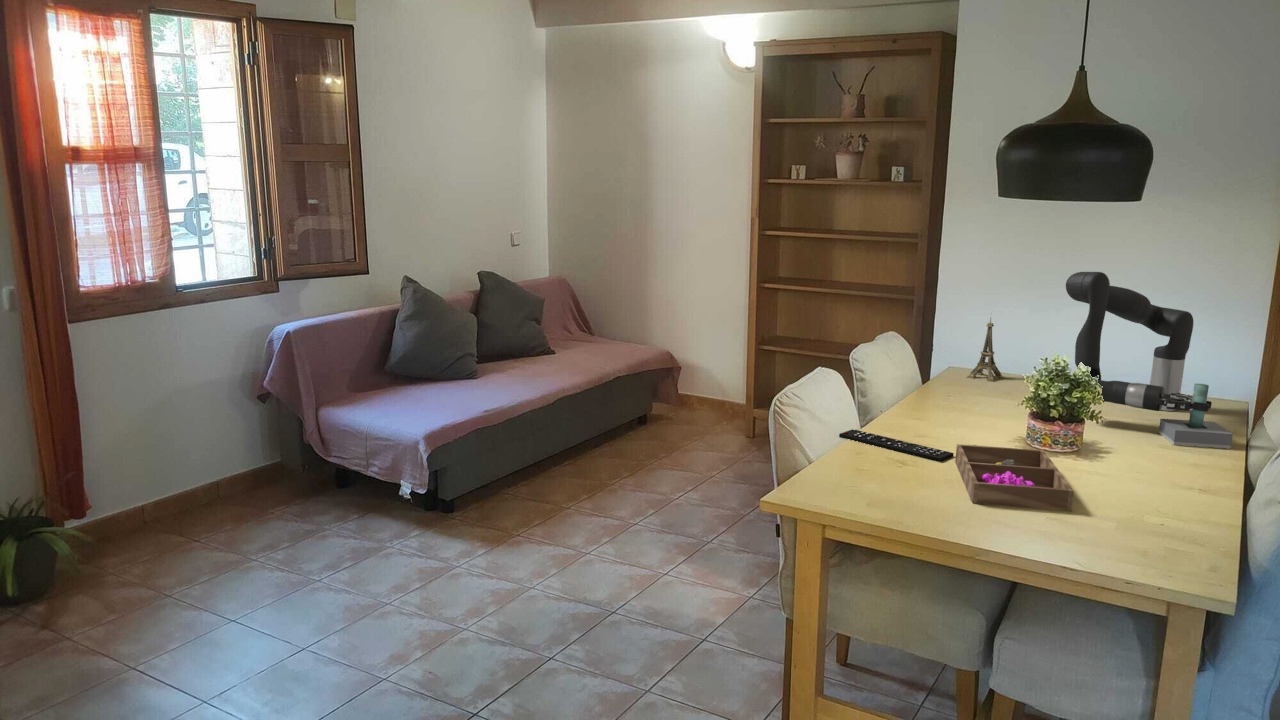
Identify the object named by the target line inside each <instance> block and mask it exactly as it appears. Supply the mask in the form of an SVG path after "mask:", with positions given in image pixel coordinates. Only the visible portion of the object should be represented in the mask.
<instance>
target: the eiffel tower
mask: <svg viewBox="0 0 1280 720" xmlns="http://www.w3.org/2000/svg"><path fill="white" fill-rule="evenodd" d="M990 313H991V314H992V312H990ZM994 326H995V325H994V323H992V318H990V320H989V322H987V324H986V327H987V330H986V335H985V340H984V343H983V348H982V350H981V351H980V354H981V355H980V357H979V361H978V362H976V364H977V365H976V366H975V367H974V368H973V369H972V370H971V371H970V373H969V375H966V378H967V379H976V378H977V375H978V376H982V375H984V370H985V371H987V376H988V377H987V379H986V381H987V382H991V383H994V382H996V381H997V379H1004V378H1005V376H1003V375H1002V372H1001V371H1000V369H998V366H997V365H996V364H997V363H996V361H995V359H994V358H995V357H994V355H995V351H994V348H993V327H994ZM986 360H987V361H986Z"/></svg>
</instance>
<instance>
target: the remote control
mask: <svg viewBox="0 0 1280 720" xmlns="http://www.w3.org/2000/svg"><path fill="white" fill-rule="evenodd" d="M838 435H839V436H838V437H839V438H841V439H843V440H844V439H845V440H848V439H850V440H849V441H852V440H854V441H853V442H856V441H858V442H857V443H860V442H861V443H862V444H864V443H865V445H868V444H869V445H868V446H872V445H874V446H873V447H876V446H877V448H880V447H881V449H884V448H885V450H889V451H892V450H893V451H894V452H897V453H900V454H905V455H908V456H912V457H917V458H922V459H924V460H925V459H926V460H929V461H933V462H937V463H942V462H944V461H946V460H949V459H951V458H952V457H954V452H951V451H948V450H947V451H945V450H942V449H939V448H938V449H937V448H934V447H929V446H926V445H921V444H916V443H912V442H908V441H904V440H900V439H896V438H891V437H887V436H883V435H879V434H874V433H871V432H867V431H862V430H858V429H855V428H853V429H849V430H847V431H843V432H841V433H839V434H838Z"/></svg>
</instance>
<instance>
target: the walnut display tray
mask: <svg viewBox="0 0 1280 720" xmlns="http://www.w3.org/2000/svg"><path fill="white" fill-rule="evenodd" d="M1008 459H1009V460H1014V461H1013V462H1011V463H1014V464H1012V465H1001V464H996V463H999V462H1000V463H1002V462H1003V461H1006V460H1008ZM1009 460H1008V461H1009ZM1008 461H1007V462H1008ZM954 462H955V465H956V467H957V469H958V472H959V474H960V477H961V480H962V482H963V485H964V487H965V489H966V491H967V494H968V497H969V499H970V501H971V503H972V504H977V505H989V506H1002V507H1015V508H1027V509H1037V510H1038V509H1041V510H1050V511H1052V510H1053V511H1064V512H1072V511H1073V508H1072V507H1073V499H1074V493H1075V491H1074V489H1073V488H1072V487H1071V485H1070V484H1069V483H1068V480H1066V479H1065V477H1064V476H1063V474H1062V473H1061V472H1060V470H1059V469H1058V467H1057V466H1056V465H1055V464H1054V462H1053V461H1052V460H1051V458H1050V457H1049V455H1048V454H1047V453H1046V451H1045V449H1044V450H1042V449H1028V448H1016V447H1015V448H1014V447H1003V446H1002V447H1001V446H988V445H975V444H974V445H973V444H972V445H971V444H959V443H957V444H956V450H955V459H954ZM1007 462H1006V463H1007ZM1009 464H1010V463H1009ZM1007 471H1009V472H1011V473H1012V474H1014V475H1016V478H1019V477H1021V476H1022V477H1023V479H1024V481H1023V483H1024V482H1025V481H1031V482H1032V483H1034V484H1035V486H1022V485H1009V484H996V483H987V482H984V480H983V479H982V476H983V475H984V474H987V473H988V474H990V475H992V476H993V478H991V480H992V479H994V476H995V474H996V473H998V474H999V475H1000V476H1002V474H1004V473H1006V472H1007ZM1004 476H1005V475H1004ZM1003 478H1004V479H1005V477H1003ZM1012 479H1014V478H1012ZM1004 483H1005V482H1004ZM1012 484H1013V482H1012ZM1024 484H1025V483H1024Z"/></svg>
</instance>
